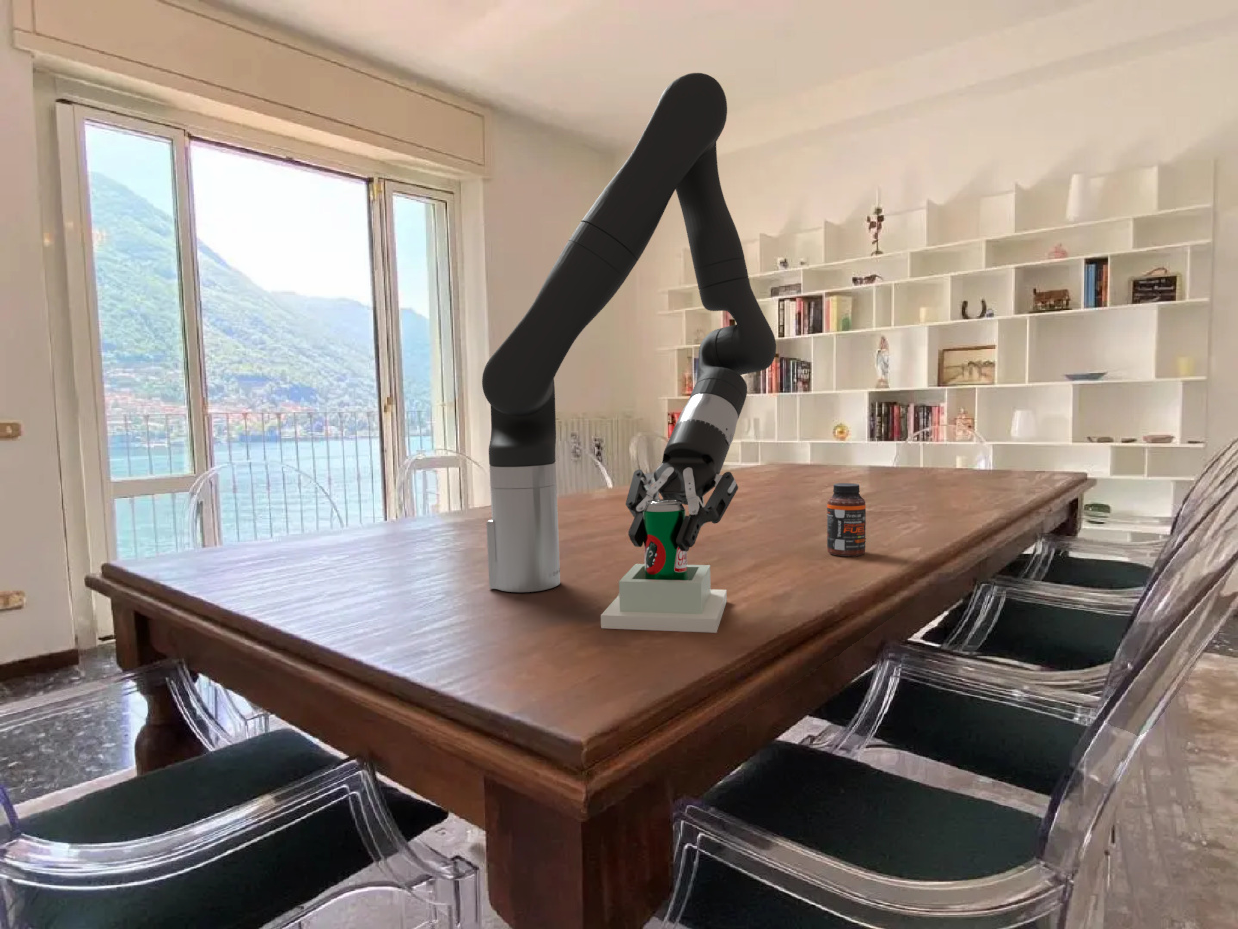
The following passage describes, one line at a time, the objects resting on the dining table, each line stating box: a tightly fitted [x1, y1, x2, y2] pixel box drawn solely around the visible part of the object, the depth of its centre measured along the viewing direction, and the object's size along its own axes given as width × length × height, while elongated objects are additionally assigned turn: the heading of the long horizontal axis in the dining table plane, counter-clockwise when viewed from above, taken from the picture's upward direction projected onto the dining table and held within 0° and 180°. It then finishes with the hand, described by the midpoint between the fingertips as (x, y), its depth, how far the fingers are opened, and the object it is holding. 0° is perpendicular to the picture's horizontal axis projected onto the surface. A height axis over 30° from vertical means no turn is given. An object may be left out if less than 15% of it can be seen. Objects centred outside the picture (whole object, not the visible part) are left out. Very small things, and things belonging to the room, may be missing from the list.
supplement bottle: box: [826, 482, 867, 557], centre depth 121 cm, size 6×6×11 cm
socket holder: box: [600, 563, 728, 634], centre depth 90 cm, size 13×13×5 cm
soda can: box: [643, 498, 688, 580], centre depth 90 cm, size 5×5×12 cm
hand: (658, 544), depth 88 cm, fingers open, 5 cm apart
